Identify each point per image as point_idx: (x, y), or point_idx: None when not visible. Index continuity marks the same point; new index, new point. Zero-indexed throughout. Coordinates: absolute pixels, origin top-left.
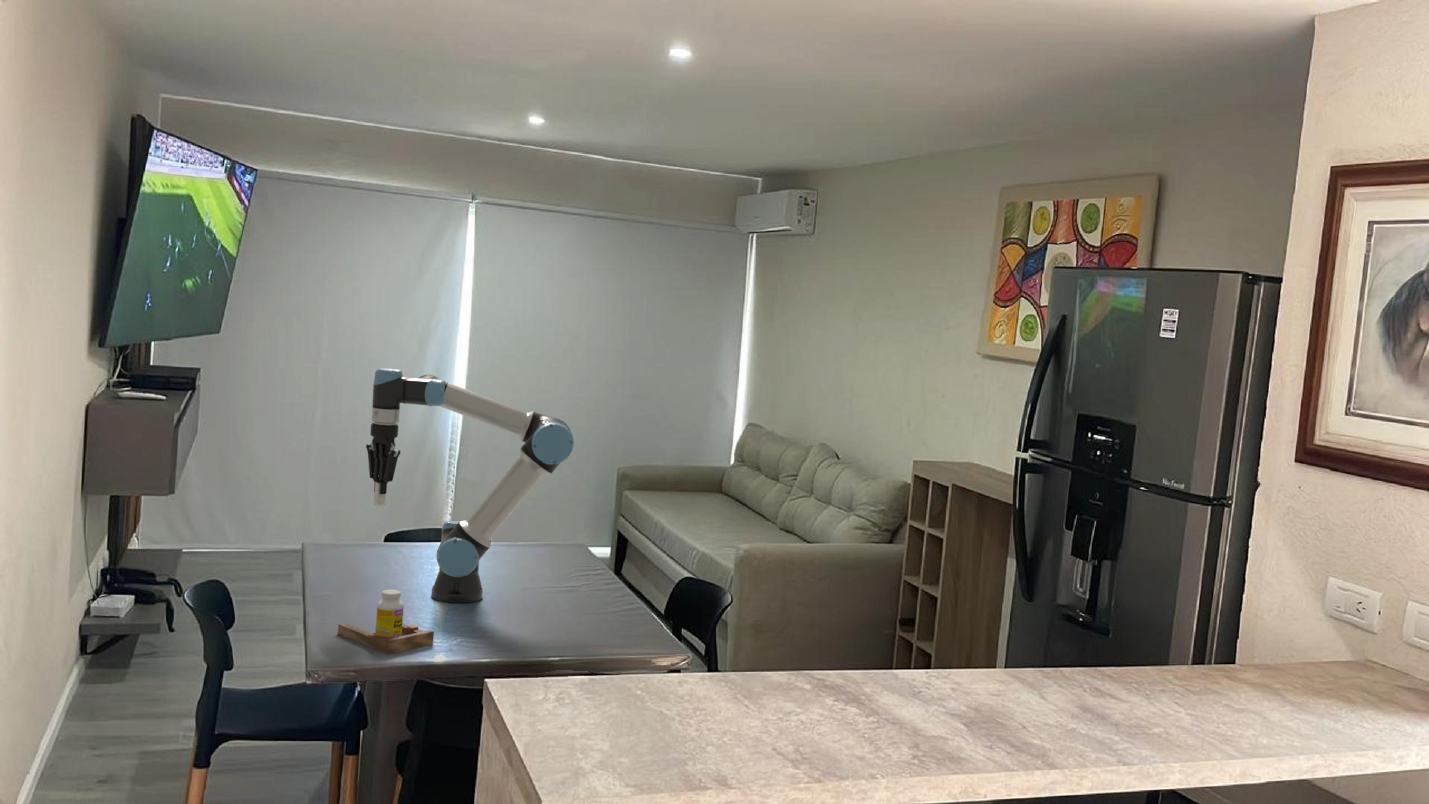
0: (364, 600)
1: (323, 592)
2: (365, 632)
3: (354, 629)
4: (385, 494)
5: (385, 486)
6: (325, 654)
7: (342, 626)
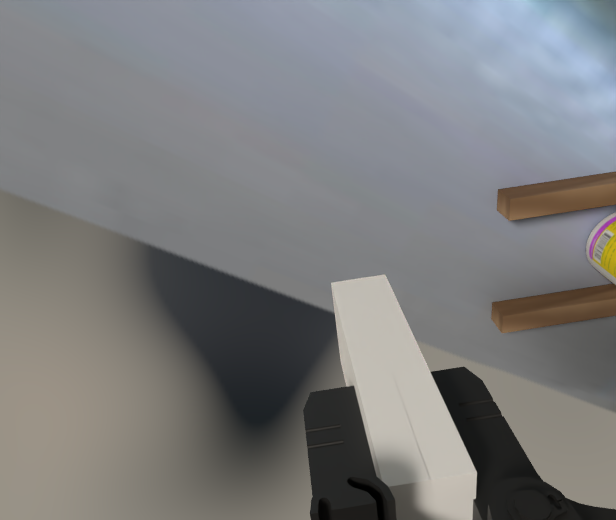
0: (226, 110)
1: (78, 191)
2: (603, 306)
3: (564, 318)
4: (415, 340)
5: (520, 463)
6: (595, 389)
7: (519, 329)
